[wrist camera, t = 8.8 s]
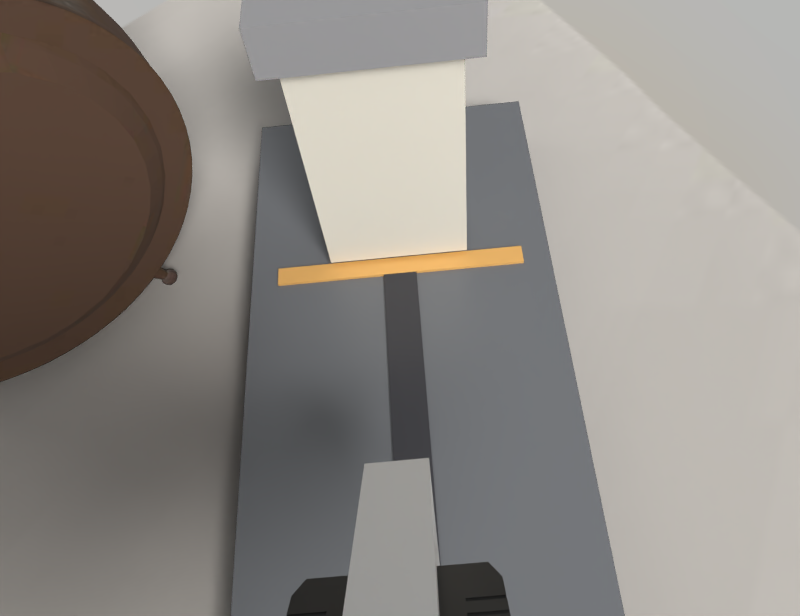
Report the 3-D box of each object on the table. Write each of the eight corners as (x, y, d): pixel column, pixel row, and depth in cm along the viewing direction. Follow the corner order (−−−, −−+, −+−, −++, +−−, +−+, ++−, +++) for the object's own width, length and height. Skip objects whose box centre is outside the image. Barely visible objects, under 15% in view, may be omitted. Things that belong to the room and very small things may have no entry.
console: (234, 888, 19) (210, 901, 17) (272, 160, 33) (261, 125, 31) (659, 863, 19) (679, 873, 17) (516, 135, 33) (518, 99, 31)
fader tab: (317, 277, 27) (239, 28, 18) (317, 201, 28) (247, -58, 20) (482, 261, 26) (487, 1, 17) (471, 186, 28) (471, -83, 19)
